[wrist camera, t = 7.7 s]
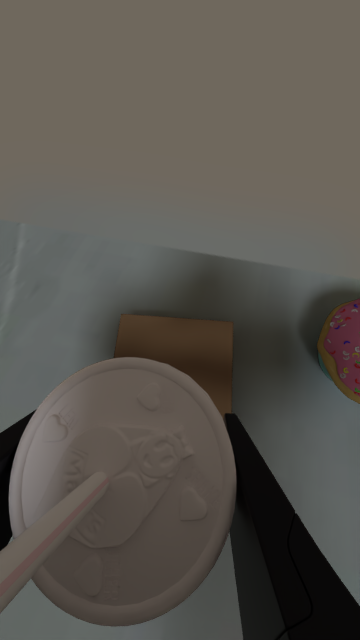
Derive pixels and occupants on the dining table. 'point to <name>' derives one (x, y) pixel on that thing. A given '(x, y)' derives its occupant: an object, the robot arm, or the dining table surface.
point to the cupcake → (342, 348)
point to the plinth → (184, 350)
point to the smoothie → (119, 493)
